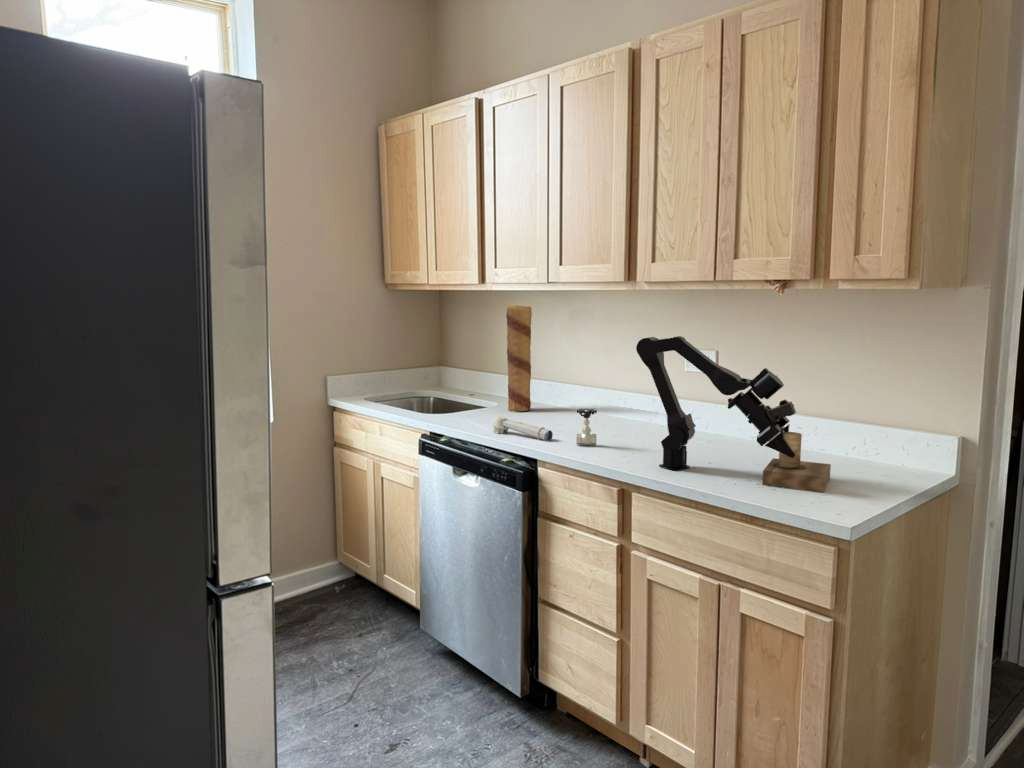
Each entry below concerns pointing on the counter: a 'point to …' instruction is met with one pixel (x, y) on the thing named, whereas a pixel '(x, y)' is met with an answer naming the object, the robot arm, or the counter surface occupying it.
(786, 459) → the dowel
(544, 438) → the off-white plastic cylinder
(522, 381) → the wafer roll
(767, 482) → the seat block
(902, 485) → the counter surface
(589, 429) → the valve
